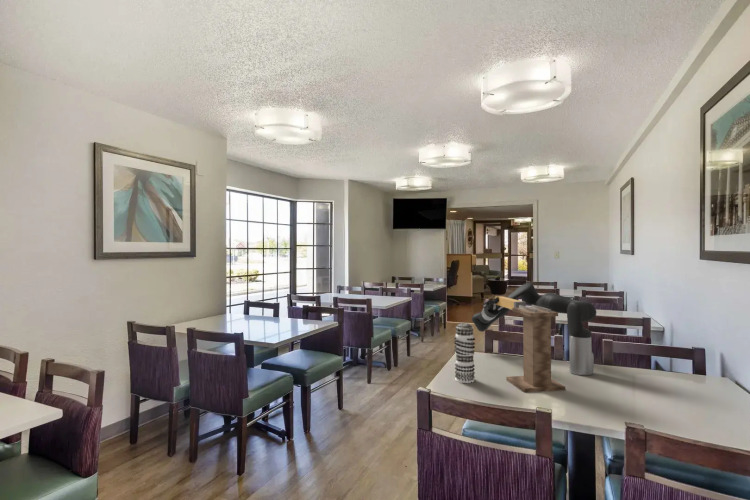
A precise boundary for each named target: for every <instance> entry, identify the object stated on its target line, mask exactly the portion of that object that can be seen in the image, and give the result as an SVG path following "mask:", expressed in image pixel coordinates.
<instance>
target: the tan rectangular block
mask: <svg viewBox="0 0 750 500" xmlns="http://www.w3.org/2000/svg"><path fill="white" fill-rule="evenodd" d="M497 297H499V302H498V303H497V304H496V305H499V306H502V307H505V308H509V310H512V308H519V305H521V306H525V307H527V306H526V305H527V304H525V302H523V300H518V299H516V300H515V299H511V298H507V297H508V296H501V295H500V296H498V295H497V296H495V297H494V299H495V298H497Z"/></svg>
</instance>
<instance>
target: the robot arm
mask: <svg viewBox="0 0 750 500" xmlns="http://www.w3.org/2000/svg"><path fill="white" fill-rule="evenodd" d="M496 297H497V296H496ZM506 297H507V298H511V299H515V300H518V298H519V297H520V298H521V301H523V302H525V305H528V306H531V307H532V305H535V306H539V307H543V308H547V309H551V311H554V312H558V314H566V318H567V319H566V320H567V329H568V332H569V333H568V334H569V338H568V339H569V341H568V342H569V344H568V345H569V373H571V374H573V375H577V376H578V375H579V376H591V375H593V374H594V373H595V372H594V371H595V370H594V366H595V365H594V363H595V362H594V353H593V352H592V331H591V330H590V329H588V328H585V327H584V325H583V322H590V321H592V320H594V319H595V318H596V317H597V316H596V315H597V309H596V307H595V306H594V305H593V303H591V302H589V301H583V300H577V299H573V298H569V297H568V296H567V297H566V296H563V295H560V294H557V293H553V292H547V293H544V294H543V295H542V296H541V295H539V294H538V292H537V290H536V288H535V286H534V284H533V283H531V282H526V283H523V284H522V285H520V286H519V287H518V288H516V289H515V290H514V291H512V292H511V293H510V294H509V295H508V296H506ZM498 302H499V297H497V298H495V297H494V299H489V300H487V301H486V302H484V303H483V304H482V305H483V308H482V310H481V311H480V312H477V313H475V314H473V315H472V317H471V321H472V323H473V324H474V326H475V327H476V329H477V331H479V332H486V331H487V330H488V329H489V328H490V326H491V325H492V324H493V323H495V322H496V321H497V320H499V319H501V318H502V317H503V316H505V315H506V314H507V313H508V312H509V311H510V309H509V308H505V307H502V306H499V305H496V304H497V303H498Z"/></svg>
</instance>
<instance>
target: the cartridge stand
mask: <svg viewBox="0 0 750 500" xmlns="http://www.w3.org/2000/svg"><path fill="white" fill-rule="evenodd" d="M511 311H512V312H514V313H516V314H520V315H523V316H522V321H523V322H522V327H523V328H522V331H523V332H522V333H523V337H522V338H523V339H522V341H523V343H522V344H523V345H522V346H523V347H522V348H523V350H522V351H523V357H522V358H523V375H516V376H515V375H512V376H511V375H510V376H506V379H505V380H506V382H508V383H510V384H511V385H513V386H514V387H515V388H516V389H518V390H520V391H521V392H523V393H536V392H537V393H539V392H555V391H558V392H559V391H566V386H565V385H563V384H561V383H560V382H559V381H556V380H554V379H553V378H552V317H559V313H558V312H554V311H551V309H547V308H543V307H539V306H535V305H532V306H531V307H529V306H526V307H525V306H521V305H519V308H512V309H511Z"/></svg>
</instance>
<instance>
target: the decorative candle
mask: <svg viewBox="0 0 750 500" xmlns="http://www.w3.org/2000/svg"><path fill="white" fill-rule="evenodd" d="M474 329H475V327H474V326H473V325H472V324H471V323H469V322H459V323H458V324H457V325H456V326H455V336H454V339H453V340H454V341H453V342H454V354H455V357H456V358H455V364H454V366H455V368H454V369H455V371H454V374H455V378H454V379H455V381H456V382H458V383H462V384H470V383H471V382H472V383H474V382H475V381H474V380H475V378H476V377H475V374H476V372H475V369H476V368H475V367H476V366H475V360H474V355H475V352H476V351H475V350H474V349H476V347H475V345H476V343H475V342H474V341H475V340H476V338H475V337H474V335H475V334H474Z"/></svg>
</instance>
